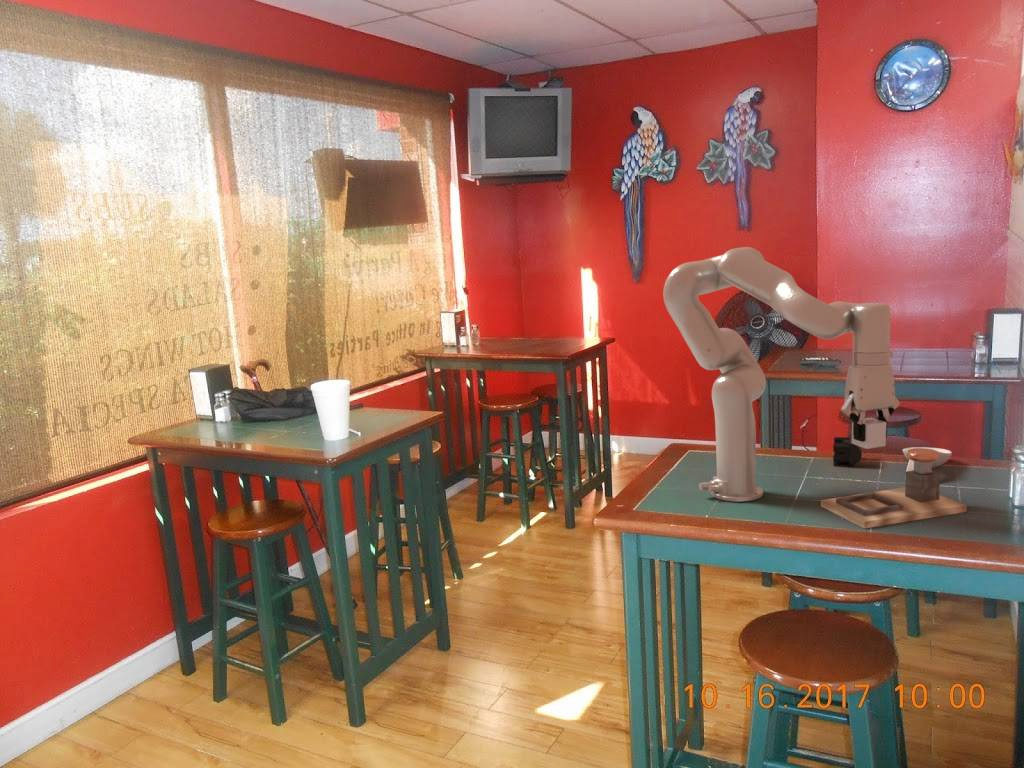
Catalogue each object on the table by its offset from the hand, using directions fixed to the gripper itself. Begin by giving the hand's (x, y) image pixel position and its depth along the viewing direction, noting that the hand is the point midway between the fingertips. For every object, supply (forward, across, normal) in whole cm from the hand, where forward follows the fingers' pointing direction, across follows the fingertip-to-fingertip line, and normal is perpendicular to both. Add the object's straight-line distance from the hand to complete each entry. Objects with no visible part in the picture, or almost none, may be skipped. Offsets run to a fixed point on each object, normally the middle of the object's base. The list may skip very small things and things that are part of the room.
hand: (870, 437), depth 183 cm
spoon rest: (+18, -33, -20) cm, 42 cm away
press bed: (+17, -4, +1) cm, 18 cm away
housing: (+2, 0, -1) cm, 2 cm away
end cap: (+18, -21, -34) cm, 44 cm away
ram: (+12, -13, +1) cm, 18 cm away
